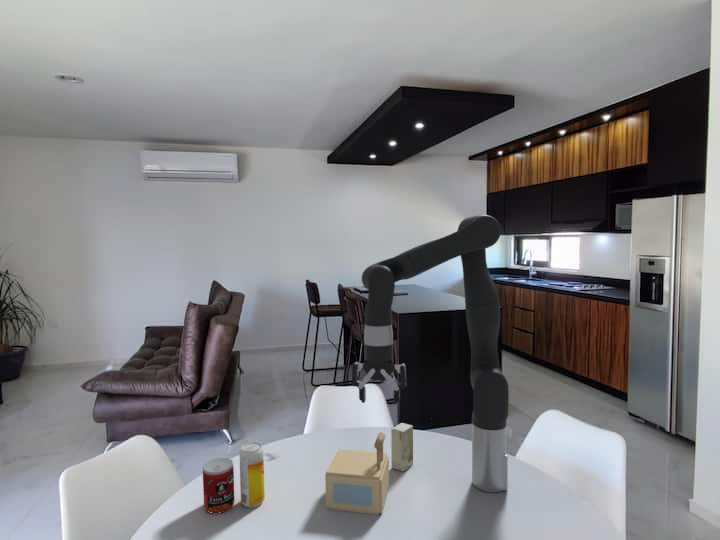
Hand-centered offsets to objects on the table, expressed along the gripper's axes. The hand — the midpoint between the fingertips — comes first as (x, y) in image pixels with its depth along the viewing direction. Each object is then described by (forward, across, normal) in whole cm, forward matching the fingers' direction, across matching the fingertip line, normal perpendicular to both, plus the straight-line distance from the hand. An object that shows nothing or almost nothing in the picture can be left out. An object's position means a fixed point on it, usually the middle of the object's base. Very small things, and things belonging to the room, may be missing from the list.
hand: (379, 402), depth 114 cm
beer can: (+26, +33, +7) cm, 43 cm away
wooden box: (+26, +6, 0) cm, 27 cm away
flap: (+17, +6, 0) cm, 18 cm away
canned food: (+26, +41, +10) cm, 50 cm away
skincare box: (+26, -4, -19) cm, 33 cm away
